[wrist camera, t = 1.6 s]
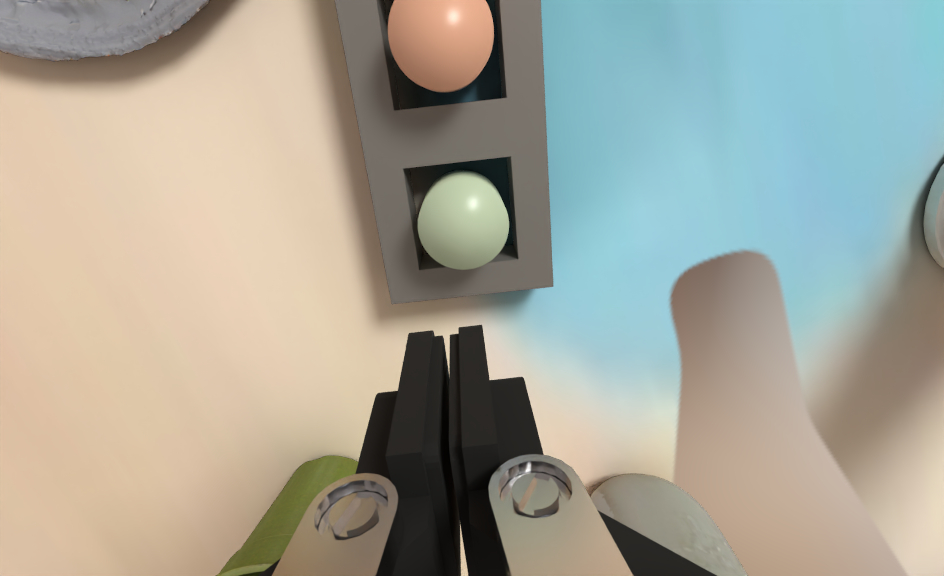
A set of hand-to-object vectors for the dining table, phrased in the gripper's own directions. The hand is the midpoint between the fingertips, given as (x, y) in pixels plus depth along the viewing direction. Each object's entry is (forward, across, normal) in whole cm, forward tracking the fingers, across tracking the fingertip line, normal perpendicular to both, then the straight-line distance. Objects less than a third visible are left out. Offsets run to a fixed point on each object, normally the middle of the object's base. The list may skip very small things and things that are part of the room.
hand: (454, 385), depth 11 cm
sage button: (+19, -1, 0) cm, 19 cm away
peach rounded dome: (+19, -1, -9) cm, 21 cm away
